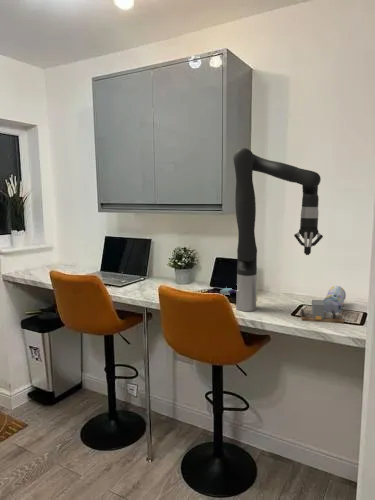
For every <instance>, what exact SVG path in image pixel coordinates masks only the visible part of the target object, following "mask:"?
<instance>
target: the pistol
mask: <svg viewBox="0 0 375 500" xmlns="http://www.w3.org/2000/svg"><path fill="white" fill-rule="evenodd" d="M220 293H221V294H224V295H229V296H231V295H230V294H232V293H236V291H235V290H234V289H232V288H227V287H224V288H222V289H220V290H219V294H220ZM224 295H223V296H224ZM232 295H233V294H232Z"/></svg>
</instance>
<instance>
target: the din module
mask: <svg viewBox="0 0 375 500" xmlns="http://www.w3.org/2000/svg"><path fill="white" fill-rule="evenodd" d="M311 311H312V313H313V319H320V320H321V319H324V312H325V311H324V303H323V299H311Z"/></svg>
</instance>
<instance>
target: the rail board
mask: <svg viewBox="0 0 375 500" xmlns="http://www.w3.org/2000/svg"><path fill="white" fill-rule="evenodd" d="M300 318H301V321H303V322H305V321H306V322H319V323H320V322H321V323H336V324H344V323H345V321H344V319H343V318H344V316H343V313H342V312H339V313H335V312H334V311H332V312H325V311H324V319H321V320H320V319H313V313H312V310H304V308H301V309H300Z"/></svg>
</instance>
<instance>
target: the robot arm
mask: <svg viewBox="0 0 375 500" xmlns="http://www.w3.org/2000/svg"><path fill="white" fill-rule="evenodd" d="M232 159H233V165H234V171H235V173H234V174H235V180H236V181H235V194H234V195H235V196H234V197H235V200H234V202H235V206H234V207H235V217H236V226H237V230H238V233H237V234H238V236H237V237H238V239H237V240H238V242H237V248H236V249H237V251H236V253H237V255H236V257H237V262H236V263H237V265H236V285H237V291H236V294H235V295H236V300H235V301H236V302H235V306H236V308H235V310H237V311H242V312H253V311H256V310H257V278H258V277H257V275H258V274H257V273H258V271H257V270H258V268H257V267H258V266H257V263H258V262H257V261H258V260H257V259H258V256H257V255H258V254H257V253H258V248H257V243H256V235H255V227H256V217H257V216H256V215H257V211H256V210H257V207H256V195H255V188H254V182H253V173H254V172H258V173H261V174H266V175H268V176H271V177H273V178H277V179H279V180H283V181H286V182H289V183H296V184H297V185H298V184H299V185H301V186H302V199H301V210H300V221H299V222H300V224H299V229H298V232H297V233H294V236H293V237H294V238H295V239H296V240H297V242H298V243H299V244H300V246H303V247H304V249H303V253H304V255H305V256H310V254H311V253H312V247H315V246H316V245H317V244H319V242H320V241H321V240H322V239H323V238H324V236H323V234H321V233H320V232H319V229H318V228H319V227H318V226H319V195H318V194H319V193H318V192H319V191H318V190H319V185H320V183H321V175H320V174H319V173H318V172H317V171H313V170H309V169H304V168H300V167H298V166H294V165H292V164H291V165H290V164H287V163H284V162H280V161H274V160H269V159H267V158H263V157H260V156H258V155H256V154H254V153H253V152H252V151H251V150H250V149H249V148H246V147H241V148H239V149H237V150H236V151H235V153H234V154H233V158H232ZM300 237H302V239H303V241H302V239H301V238H300ZM314 238H316V239H315V240H314ZM313 240H314V241H313Z"/></svg>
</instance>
